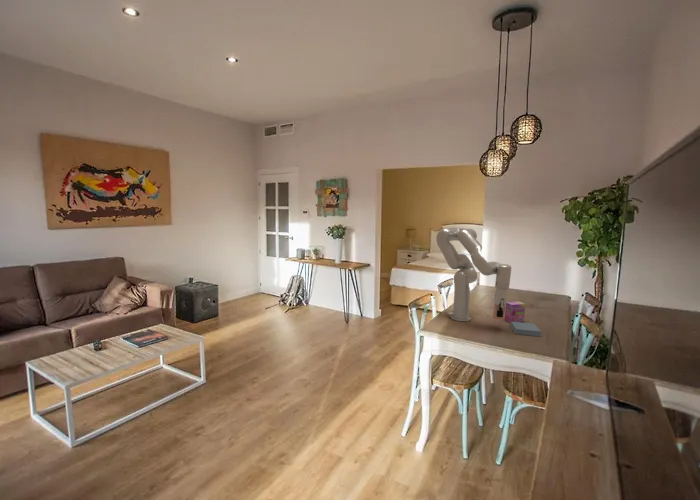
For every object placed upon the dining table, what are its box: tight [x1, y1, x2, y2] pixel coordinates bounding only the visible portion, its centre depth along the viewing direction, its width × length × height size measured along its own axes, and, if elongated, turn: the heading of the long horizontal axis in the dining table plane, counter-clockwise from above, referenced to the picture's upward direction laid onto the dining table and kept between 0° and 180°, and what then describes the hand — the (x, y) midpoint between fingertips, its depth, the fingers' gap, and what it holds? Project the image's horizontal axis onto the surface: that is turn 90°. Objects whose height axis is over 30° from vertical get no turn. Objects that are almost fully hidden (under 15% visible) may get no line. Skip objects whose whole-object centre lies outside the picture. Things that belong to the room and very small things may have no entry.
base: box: [510, 322, 542, 337], centre depth 210 cm, size 13×14×3 cm
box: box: [503, 301, 526, 324], centre depth 229 cm, size 10×6×12 cm, turn 105°
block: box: [492, 303, 506, 321], centre depth 213 cm, size 5×5×8 cm
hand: (498, 315), depth 213 cm, fingers closed on block, 5 cm apart
